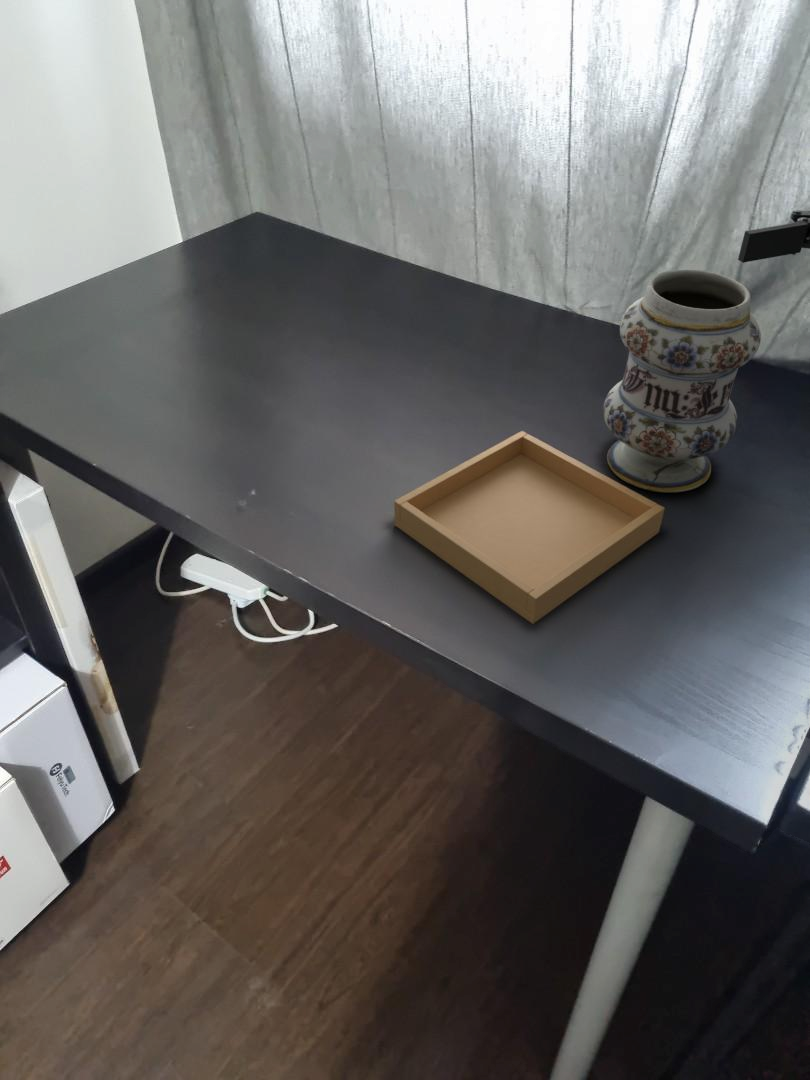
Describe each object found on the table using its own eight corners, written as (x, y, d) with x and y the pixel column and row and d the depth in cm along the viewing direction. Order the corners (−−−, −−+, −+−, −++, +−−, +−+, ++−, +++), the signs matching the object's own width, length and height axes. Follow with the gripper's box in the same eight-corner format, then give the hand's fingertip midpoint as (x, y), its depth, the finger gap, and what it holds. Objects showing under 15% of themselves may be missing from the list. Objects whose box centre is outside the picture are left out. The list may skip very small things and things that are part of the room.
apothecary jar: (749, 483, 78) (805, 303, 67) (641, 514, 75) (681, 331, 63) (672, 419, 87) (711, 251, 75) (572, 445, 84) (596, 272, 72)
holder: (659, 532, 73) (664, 507, 71) (532, 624, 65) (535, 599, 63) (519, 454, 83) (522, 430, 81) (394, 525, 74) (393, 500, 73)
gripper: (1084, 334, 71) (884, 380, 65) (869, 233, 88) (699, 263, 83) (1133, 248, 66) (921, 290, 61) (895, 159, 84) (716, 186, 78)
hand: (792, 275), depth 72 cm, fingers open, 13 cm apart
